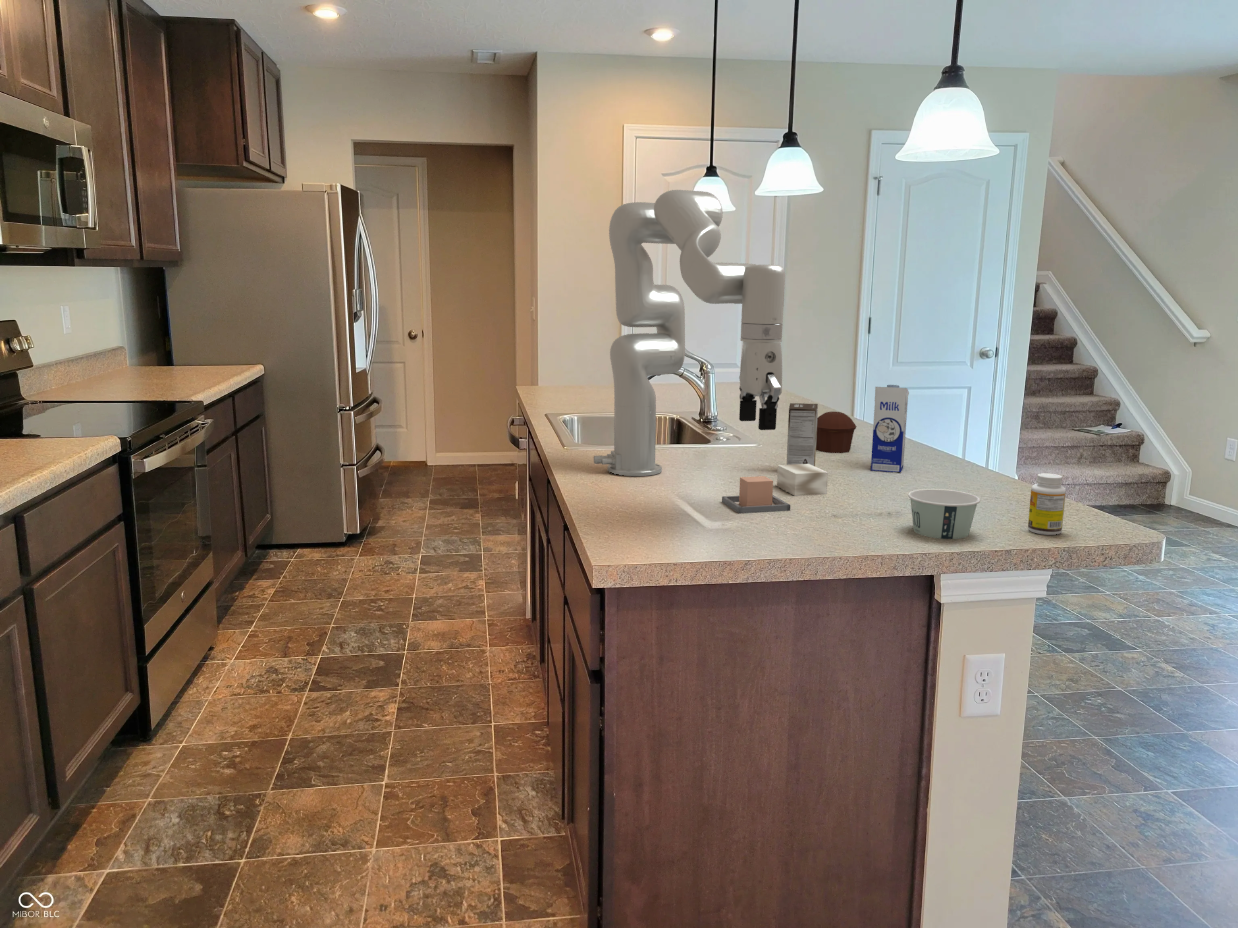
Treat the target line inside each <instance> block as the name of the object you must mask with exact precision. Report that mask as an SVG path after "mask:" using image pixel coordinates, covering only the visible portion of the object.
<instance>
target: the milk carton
mask: <svg viewBox="0 0 1238 928" xmlns="http://www.w3.org/2000/svg"><path fill="white" fill-rule="evenodd" d="M874 389H875V390H874V407H873V408H874V410H873V412H874V413H873V425H872V428H873V429H872V443H871V461H870V472H881V473H893V472H901V473H902V471H903V469H904V461H905V447H906V446H905V445H906V435H907V434H906V430H907V418H908V416H907V415H908V404H909V403H908V402H909V395H910V392H909V389H908V388H907V387H900V385H897V384H887V385H886V386H875V387H874Z"/></svg>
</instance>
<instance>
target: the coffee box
mask: <svg viewBox="0 0 1238 928" xmlns="http://www.w3.org/2000/svg"><path fill="white" fill-rule="evenodd" d="M788 407H789V408H788V418H787V419H788V420H787V425H788V427H787V442H786V444H787V449H786V465H792V464H810V465H813V466H815V467H816V455H817V454H816V453H817V450H816V439H817V418H818V417H819V416H818V413H819V409H818V407H819V405H818V403H805V402H804V403H798V402H797V403H796V402H795V403H794V402H793V403H791V402H790V403H789V406H788Z"/></svg>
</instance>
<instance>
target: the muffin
mask: <svg viewBox="0 0 1238 928" xmlns="http://www.w3.org/2000/svg"><path fill="white" fill-rule="evenodd" d="M856 429H857V425H856V424H855V422H854V420H853V419H852V418H851V417H850V416H849V415H847V414H846V413H844V412H842V411H841V412H840V411H827V412H824V413H822V414H821V415H819V416H818V417H817V439H816V452H820V453H827V454H844V453H845V454H846V453H850V451H851V448H852V447H851V446H852V443H853V437H854V434H855V430H856Z"/></svg>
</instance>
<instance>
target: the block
mask: <svg viewBox="0 0 1238 928" xmlns="http://www.w3.org/2000/svg"><path fill="white" fill-rule="evenodd" d="M738 491H739V495H738V496H739V502H738V505H739V506H741V507H747V506H765V505H773V502H772V498H773V495H774V493H773V492H774V480H772V479H770V478H768V477H767V476H765V475H762V476H761V475H760V476H759V475H757V476H740V477H739V490H738Z"/></svg>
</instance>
